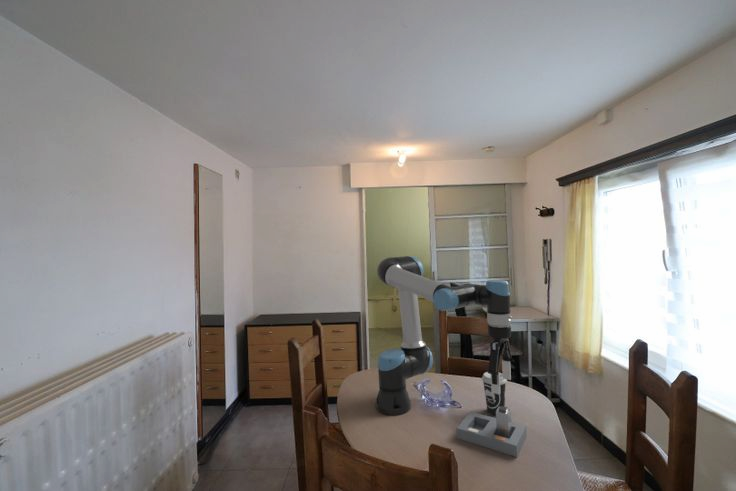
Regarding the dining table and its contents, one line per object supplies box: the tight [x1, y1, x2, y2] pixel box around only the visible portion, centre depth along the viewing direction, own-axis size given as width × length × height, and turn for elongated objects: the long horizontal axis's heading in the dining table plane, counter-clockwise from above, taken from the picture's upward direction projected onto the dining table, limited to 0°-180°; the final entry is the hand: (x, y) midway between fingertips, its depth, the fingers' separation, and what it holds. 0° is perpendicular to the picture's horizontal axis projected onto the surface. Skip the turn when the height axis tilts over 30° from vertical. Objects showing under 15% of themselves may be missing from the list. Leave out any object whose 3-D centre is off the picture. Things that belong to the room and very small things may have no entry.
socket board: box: [456, 411, 528, 458], centre depth 118 cm, size 20×14×4 cm
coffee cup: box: [481, 371, 507, 417], centre depth 135 cm, size 10×10×15 cm
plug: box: [495, 406, 512, 439], centre depth 115 cm, size 4×4×11 cm
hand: (501, 385), depth 115 cm, fingers open, 13 cm apart
